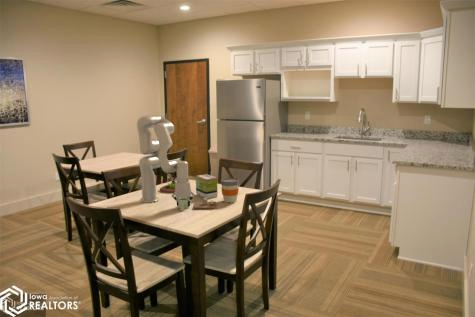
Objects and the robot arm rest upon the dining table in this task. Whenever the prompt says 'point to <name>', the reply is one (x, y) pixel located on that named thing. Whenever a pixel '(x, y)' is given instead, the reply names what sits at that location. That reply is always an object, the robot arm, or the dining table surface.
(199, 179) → the tea box
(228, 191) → the reusable coffee cup
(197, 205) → the post board
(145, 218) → the dining table surface
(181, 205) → the collar
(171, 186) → the plant
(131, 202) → the dining table surface
